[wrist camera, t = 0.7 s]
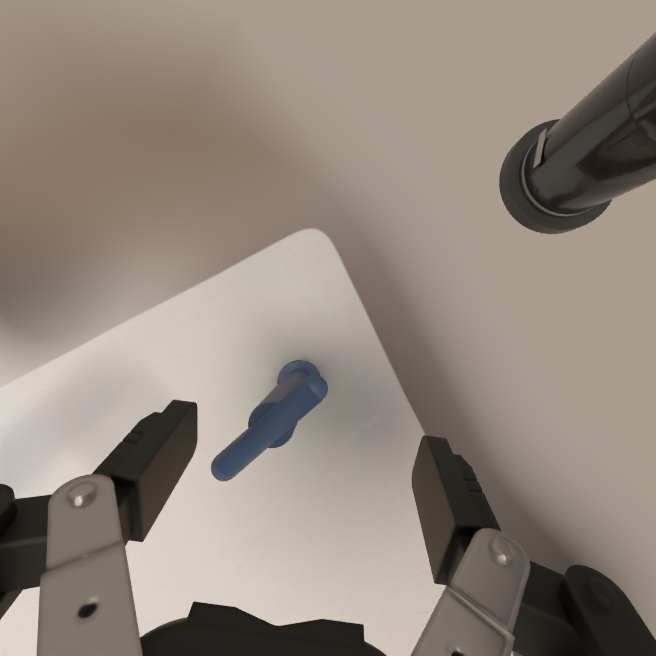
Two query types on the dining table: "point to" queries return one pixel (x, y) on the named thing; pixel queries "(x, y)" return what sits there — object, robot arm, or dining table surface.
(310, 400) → the peg
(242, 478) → the dining table surface
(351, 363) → the dining table surface
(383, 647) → the dining table surface
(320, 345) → the dining table surface
